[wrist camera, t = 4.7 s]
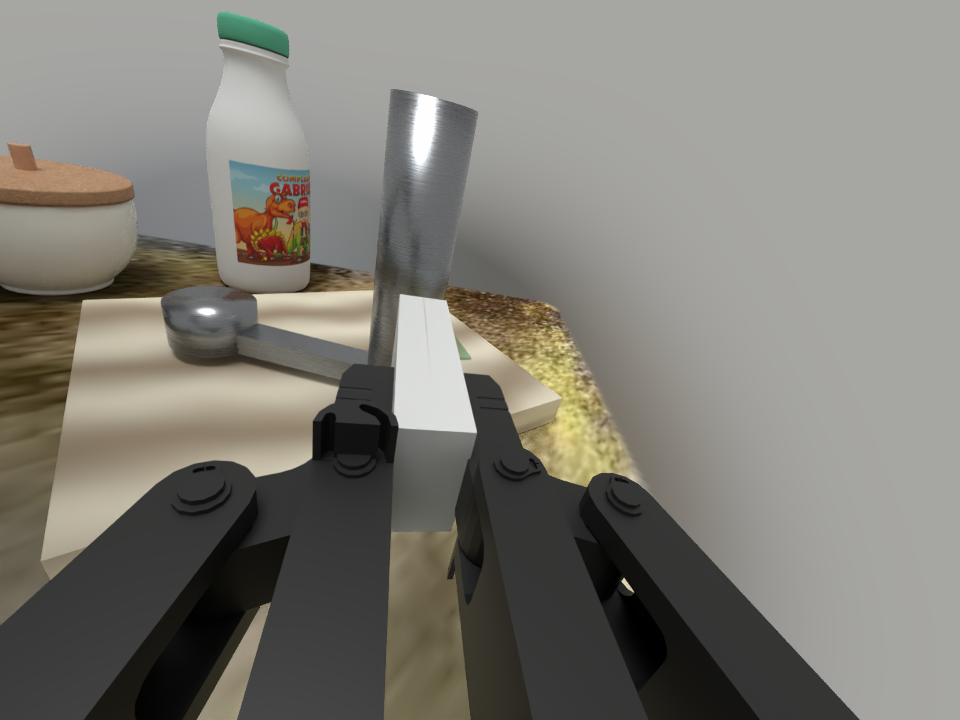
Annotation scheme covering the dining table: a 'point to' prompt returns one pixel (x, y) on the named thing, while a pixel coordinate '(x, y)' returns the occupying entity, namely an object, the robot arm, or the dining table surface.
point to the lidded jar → (62, 225)
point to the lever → (399, 263)
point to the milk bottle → (258, 164)
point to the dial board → (211, 405)
